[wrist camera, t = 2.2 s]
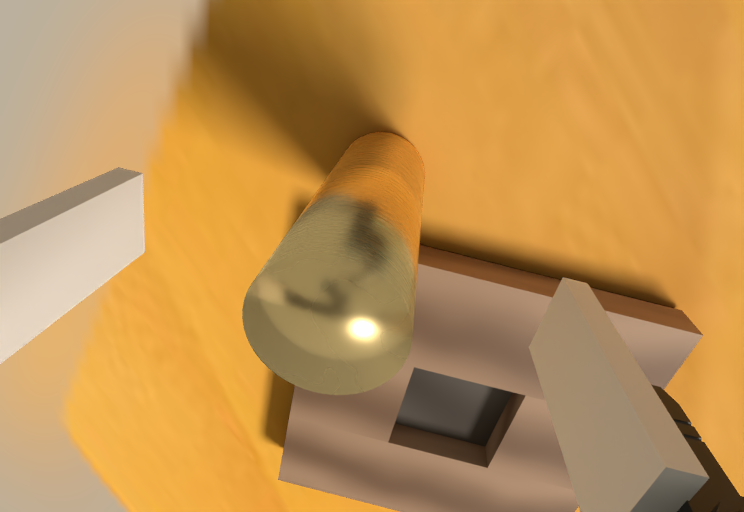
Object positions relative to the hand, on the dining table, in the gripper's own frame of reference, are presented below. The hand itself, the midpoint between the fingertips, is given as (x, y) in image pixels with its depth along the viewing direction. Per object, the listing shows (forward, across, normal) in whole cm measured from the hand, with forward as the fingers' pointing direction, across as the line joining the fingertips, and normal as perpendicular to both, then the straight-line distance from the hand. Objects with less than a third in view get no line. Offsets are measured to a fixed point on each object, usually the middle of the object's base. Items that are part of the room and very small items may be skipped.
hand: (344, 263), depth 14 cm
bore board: (+8, +7, -12) cm, 16 cm away
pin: (+8, 0, 0) cm, 8 cm away
